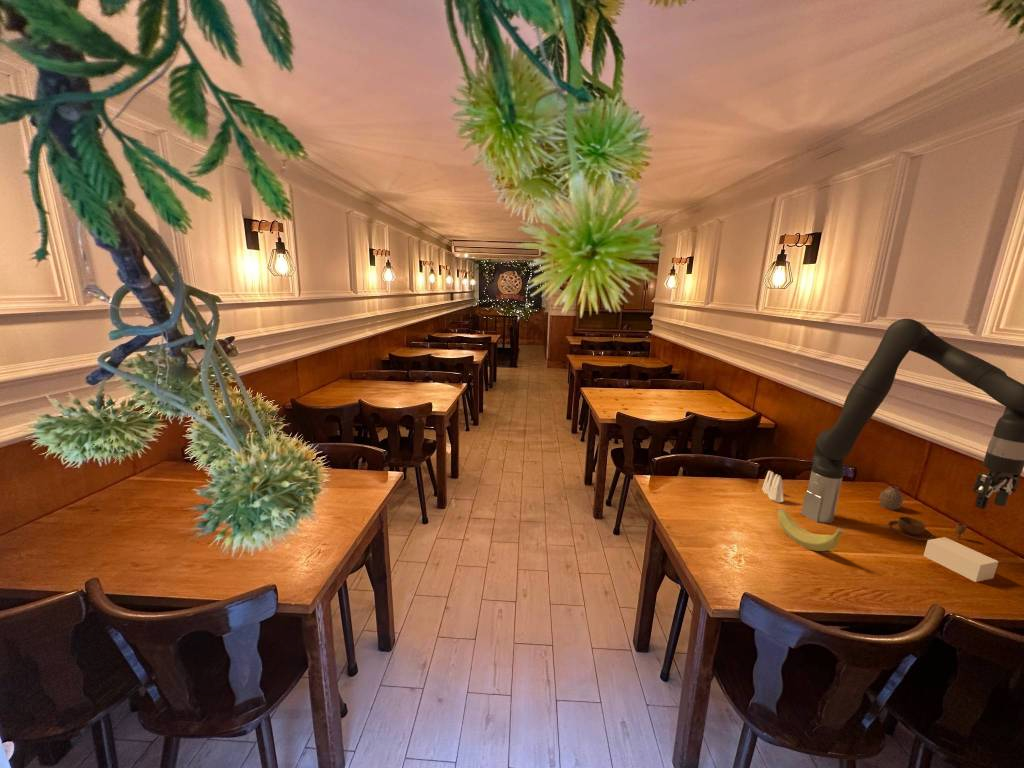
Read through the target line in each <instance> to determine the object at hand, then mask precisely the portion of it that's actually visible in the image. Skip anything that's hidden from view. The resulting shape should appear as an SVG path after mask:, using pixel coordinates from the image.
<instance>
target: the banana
mask: <svg viewBox="0 0 1024 768" xmlns="http://www.w3.org/2000/svg"><path fill="white" fill-rule="evenodd" d="M777 519H778V523H779V525H780V526H781V529H782V530H783V532H784V533H785V534H786V535H787V537H788V538H789V539H790V540H792V541H794V542H795V543H796V544H798V545H800V546H802V547H804V548H806V549H807V550H811V551H816V552H824V551H830V550H833V549H835V548H836V547H837V546H838V544H839V543H838V539H839V537H840V536H841V535H842V534H844V533H845V530H844V529H842V528H839V527H838V528H837V529H836V531H835V533H833V534H820V533H818V534H817V533H813V532H810V531H809V530H806V529H804V527H802V526H800V525H799V524H798V523H797V521H795V520H794V519H793V517H791V515H790V514H789V513H788V512H787V511H786V510H785V509H784V508H783V507H782V508H781V507H780V508H778V510H777Z"/></svg>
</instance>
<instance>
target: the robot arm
mask: <svg viewBox="0 0 1024 768" xmlns="http://www.w3.org/2000/svg"><path fill="white" fill-rule="evenodd" d="M909 352H913V353H916V354H918V355H921V356H923V357H925V358H927V359H929V360H931V361H933V362H934V363H937V364H938V365H939V366H941V367H942V368H943V369H945V370H947V371H948V372H949V373H951V374H953V375H954V376H956V377H958V378H960V379H961V380H963V381H964V382H966V383H969V384H970V385H971V386H974V387H975V388H977V389H979V390H981V391H983V393H985V394H986V395H988V396H989V397H990V398H992V399H993V400H995V401H996V402H997V403H999V404H1000V405H1002V406H1004V407H1005V408H1004V409H1005V410H1004V411H1003V412H1004V413H1003V414H1002V416H1000V418H998V420H997V421H996V424H995V426H994V430H993V433H992V436H991V439H990V440H989V443H988V445H987V449H986V451H985V454H984V455H985V456H984V457H983V458H984V459H983V460H982V461H983V462H982V465H983V467H985V468H987V469H988V470H987V472H986V474H985V473H982V472H980V473H978V475H977V478H976V481H975V484H974V487H973V489H972V492H973V493H975V494H977V496H976V500H975V502H974V503H975V504H974V506H975V507H976V508H979V509H981V510H986V509H987V506H988V504H989V500H990V497H991V496H992V494H993V493H996V494H995V498H994V501H993V503H994V504H995V505H997V506H1000V507H1005V506H1006V505H1007V502H1008V499H1009V496H1010V495H1012V493H1016V492H1017V489H1018V485H1019V483H1020V478H1021V474H1022V473H1023V470H1024V384H1023V383H1022V382H1020V381H1018V380H1016V379H1014V378H1012V377H1011V376H1008V375H1007V373H1006V371H1005V370H1002V369H1001V368H999V366H996V365H993V364H991V363H990V362H988V361H986V360H984V359H982V358H980V357H978V356H976V355H974V354H972V353H969V352H968V351H965V350H962V349H961V348H958V347H956V346H954V345H952V344H951V343H949V342H948V341H946V340H944V339H942V338H941V337H940V336H938V335H936V334H935V333H934V332H933V331H931V330H930V329H929V328H927V326H926V325H925V324H923V323H921V322H920V321H917V320H915V319H913V318H902V319H897V320H896V321H894V322H893V323H891V324H889V326H888V327H887V329H886V331H885V332H884V334H883V337H882V338H881V341H880V343H879V345H878V347H877V349H876V351H875V353H874V355H873V356H872V358H871V359H870V360H869V362H868V363H867V365H866V366H865V367H864V369H863V371H862V372H861V374H860V375H859V376H858V378H857V379H856V381H855V382H854V384H853V385H852V387H851V389H850V390H849V391H848V394H847V395H846V398H845V401H844V403H843V407H842V410H841V413H840V415H839V418H837V419H838V420H837V421H836V423H835V424H834V425H833V426H832V428H827V429H824V430H822V431H820V432H819V434H818V435H817V437H816V439H815V445H814V449H813V455H812V465H811V472H810V476H809V477H810V478H809V481H808V487H807V490H806V491H805V493H804V497H803V503H802V509H801V513H800V514H801V515H803V516H804V517H806V518H808V519H810V520H812V521H814V522H815V523H823V524H831V523H833V522H834V517H835V514H836V509H837V505H838V500H839V496H840V492H841V487H842V481H843V479H844V474H845V465H844V464H845V463H844V462H845V458H846V457H847V456H848V455H849V454H851V451H852V450H853V448H854V446H855V444H856V442H857V439H858V438H859V436H860V434H861V432H862V431H863V429H864V427H865V426H866V424H868V422H869V421H870V420H871V418H872V417H873V415H874V414H875V413H876V411H877V410H878V408H879V407H880V406H881V404H882V403H883V401H885V399H886V397H887V396H888V394H889V393H890V391H891V389H892V387H893V384H894V381H895V378H896V374H897V372H898V368H899V366H900V364H901V363H902V361H903V360H904V359H905V357H906V355H908V353H909Z"/></svg>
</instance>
